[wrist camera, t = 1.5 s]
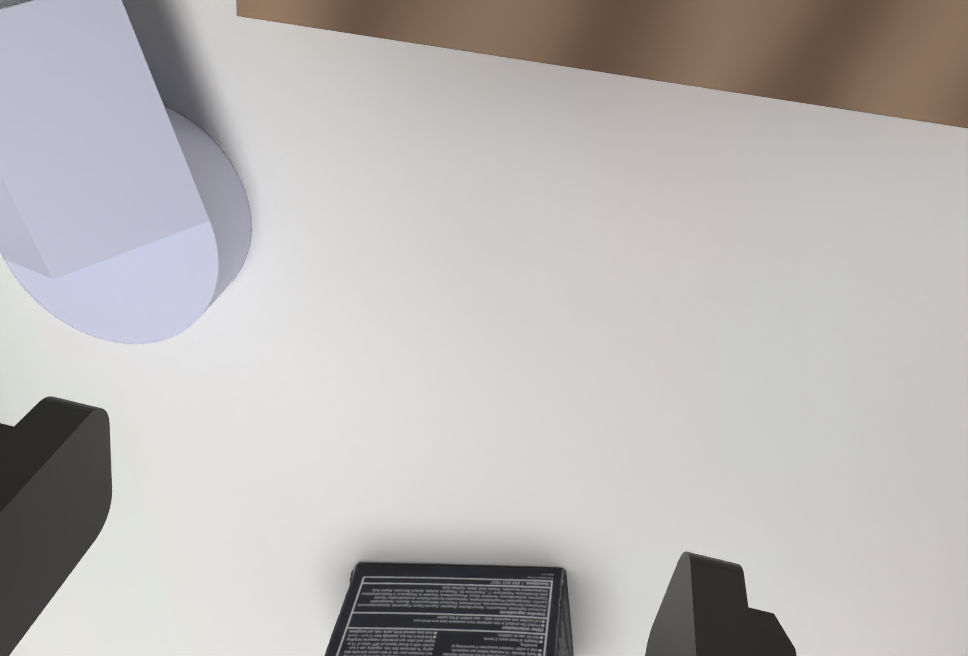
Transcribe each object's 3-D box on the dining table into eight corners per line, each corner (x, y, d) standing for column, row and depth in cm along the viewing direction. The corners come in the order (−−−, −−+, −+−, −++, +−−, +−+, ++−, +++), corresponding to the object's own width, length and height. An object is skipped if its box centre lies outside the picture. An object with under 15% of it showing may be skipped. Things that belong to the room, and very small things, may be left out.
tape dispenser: (-49, 18, 35) (97, 318, 40) (-188, 60, 29) (5, 403, 35) (160, -37, 32) (282, 288, 38) (54, -4, 27) (217, 373, 32)
